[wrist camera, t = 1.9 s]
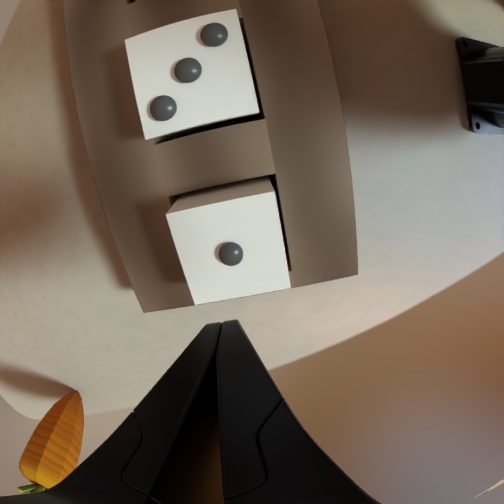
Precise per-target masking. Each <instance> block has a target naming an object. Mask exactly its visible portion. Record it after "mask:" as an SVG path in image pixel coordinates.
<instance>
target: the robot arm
mask: <svg viewBox="0 0 504 504" xmlns="http://www.w3.org/2000/svg"><path fill="white" fill-rule="evenodd" d="M462 43H463V44H464V46H463V44H462ZM456 46H457V50H458V54H459V59H460V64H461V69H462V75H463V81H464V87H465V94H466V101H467V109H468V119H469V127H470V130H471V131H472V132H474V133H493V134H504V47H499V46H495V45H492V44H488V43H485V42H481V41H477V40H473V39H469V38H465V37H460V38H457V39H456ZM475 124H476V125H477V126H476V127H475ZM133 411H134V412H131V413H130V414H129V415H128V417H127V418H126V419H125V420H124V421H123V422H122V424H121V425H120V426H119V427H118V428H117V429H116V430H115V431H114V432H113V433H112V434H111V436H110V437H109V438H108V439H107V440H106V441H105V442H104V443H103V444H102V445H100V446H99V447H98V448H97V449H96V450H95V451H94V452H93V453H92V454H91V455H90V456H89V457H88V458H87V459H85V461H83V462H82V463H81V464H80V465H79V466H78V467H77V468H75V469H74V470H73V471H72V472H71V473H70V474H69V475H68V476H67V477H65V478H64V479H63V480H62V481H61V482H59V483H58V484H56V485H55V486H53V487H51V488H49V489H46V490H43V491H39V492H34V493H27V494H20V495H11V496H1V497H0V504H381V503H379V502H378V501H376V500H375V499H374V498H372V497H371V496H370V495H368V494H367V493H366V492H365V491H364V490H362V489H361V488H360V487H359V486H358V485H357V484H356V483H355V482H353V480H352V479H351V478H349V476H347V475H346V474H345V473H344V471H343V470H342V469H341V468H340V467H339V466H338V465H337V464H336V463H335V462H334V461H333V460H332V459H331V458H330V457H329V456H328V455H327V454H326V453H325V452H324V451H323V450H322V449H321V448H320V447H319V445H318V444H317V443H316V442H315V441H314V440H313V439H312V437H311V436H310V435H309V434H308V432H307V431H306V430H305V429H304V428H303V426H302V425H301V423H300V422H299V420H298V419H297V417H296V416H295V415H294V413H293V411H292V410H291V408H290V407H289V405H288V404H287V402H286V401H285V399H284V397H283V396H282V394H281V392H280V391H279V389H278V387H277V386H276V384H275V382H274V381H273V379H272V377H271V376H270V374H269V372H268V371H267V369H266V367H265V366H264V364H263V362H262V361H261V359H260V357H259V356H258V354H257V352H256V350H255V349H254V347H253V345H252V344H251V342H250V340H249V338H248V337H247V335H246V333H245V331H244V330H243V328H242V326H241V324H240V323H239V321H238V320H229V321H224V322H223V323H221V322H217V323H210V324H206V325H205V326H204V328H203V329H202V330H201V331H200V332H199V333H198V335H197V336H196V337H195V338H194V339H193V341H192V342H191V343H190V344H189V345H188V347H187V348H186V349H185V350H184V351H183V352H182V354H181V355H180V356H179V357H178V358H177V360H176V361H175V362H174V363H173V364H172V365H171V367H170V368H169V369H168V370H167V371H166V372H165V374H164V375H163V376H162V377H161V378H160V380H159V381H158V382H157V383H156V384H155V385H154V387H153V388H152V389H151V390H150V391H149V392H148V394H147V395H146V396H145V397H144V398H143V399H142V401H141V402H140V403H139V404H138V405H137V406H136V408H135V409H134V410H133Z"/></svg>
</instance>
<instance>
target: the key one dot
mask: <svg viewBox="0 0 504 504" xmlns="http://www.w3.org/2000/svg"><path fill="white" fill-rule="evenodd" d="M166 217H167V221H168V224H169V227H170V231H171V234H172V237H173V240H174V243H175V247H176V250H177V253H178V256H179V259H180V262H181V265H182V268H183V271H184V274H185V277H186V280H187V283H188V286H189V289H190V292H191V295H192V298H193V300H194V303H195V305H197V304H204V303H210V302H216V301H222V300H228V299H233V298H239V297H245V296H250V295H256V294H261V293H267V292H272V291H278V290H283V289H288V288H291V285H290V279H289V272H288V266H287V260H286V254H285V248H284V242H283V236H282V230H281V224H280V219H279V213H278V207H277V202H276V196H275V191H274V189H273V186H272V184H271V182H270V179H269V177H268V176H265V177H260V178H254V179H249V180H244V181H239V182H235V183H230V184H225V185H220V186H216V187H211V188H207V189H202V190H198V191H194V192H189V193H185V194H181V195H180V197H179V198H178V199H177V200H176V202H175V203H174V204H173V206H172V207H171V208H170V209H169V211H168V212H167V213H166Z"/></svg>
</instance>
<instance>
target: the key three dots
mask: <svg viewBox="0 0 504 504" xmlns="http://www.w3.org/2000/svg"><path fill="white" fill-rule="evenodd" d="M125 45H126V50H127V56H128V61H129V67H130V72H131V77H132V82H133V87H134V92H135V96H136V101H137V106H138V110H139V115H140V119H141V123H142V128H143V132H144V136H145V140H148V139H152V138H156V137H161V136H165V135H169V134H173V133H176V132H180V131H184V130H187V129H191V128H195V127H199V126H203V125H208V124H212V123H216V122H221V121H225V120H230V119H235V118H240V117H245V116H250V115H255V114H257V113H259V108H258V104H257V99H256V94H255V89H254V85H253V80H252V76H251V71H250V66H249V62H248V57H247V53H246V49H245V44H244V40H243V36H242V31H241V27H240V23H239V19H238V15H237V10H236V9H232V10H227V11H222V12H217V13H212V14H208V15H203V16H199V17H195V18H191V19H187V20H183V21H180V22H176V23H173V24H170V25H166V26H163V27H160V28H157V29H154V30H151V31H148V32H145V33H142V34H139V35H137V36H134V37H131V38H129V39H126V40H125Z"/></svg>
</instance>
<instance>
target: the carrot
mask: <svg viewBox="0 0 504 504" xmlns="http://www.w3.org/2000/svg"><path fill="white" fill-rule="evenodd" d="M83 428H84V411H83V405H82V398H81V396H80V394H79V392H71V393H70V394H68V395H66V396H64V397H63V398H61V399H60V400H59V401H58V402H56V403H55V404H54V405H53V406H52V408H51V409H50V410H49V411H48V412H47V414H46V415H45V416H44V418H43V419H42V420H41V422H40V423H39V424H38V426H37V427H36V429H35V430H34V432H33V434H32V436H31V438H30V440H29V442H28V443H27V446H26V448H25V450H24V452H23V454H22V456H21V459H20V462H19V469H20V471H21V473H22V474H23V476H25V477H26V478H27V479H28V480H29V481H30V482H32V483H33V484H31V485H26V486H21V487H17V488H18V491H20V492H23V493H27V492H30V493H34V492H39V491H43V490H46V489H49V488H51V487H53V486H55V485H56V484H58V483H59V482H61V481H62V480H63V479H64V478H65V477H67V476H68V475H69V474H70V473H71V472H72V471H73V470H74V469H75V468H76V467H77V463H78V459H79V455H80V451H81V444H82V437H83Z"/></svg>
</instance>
